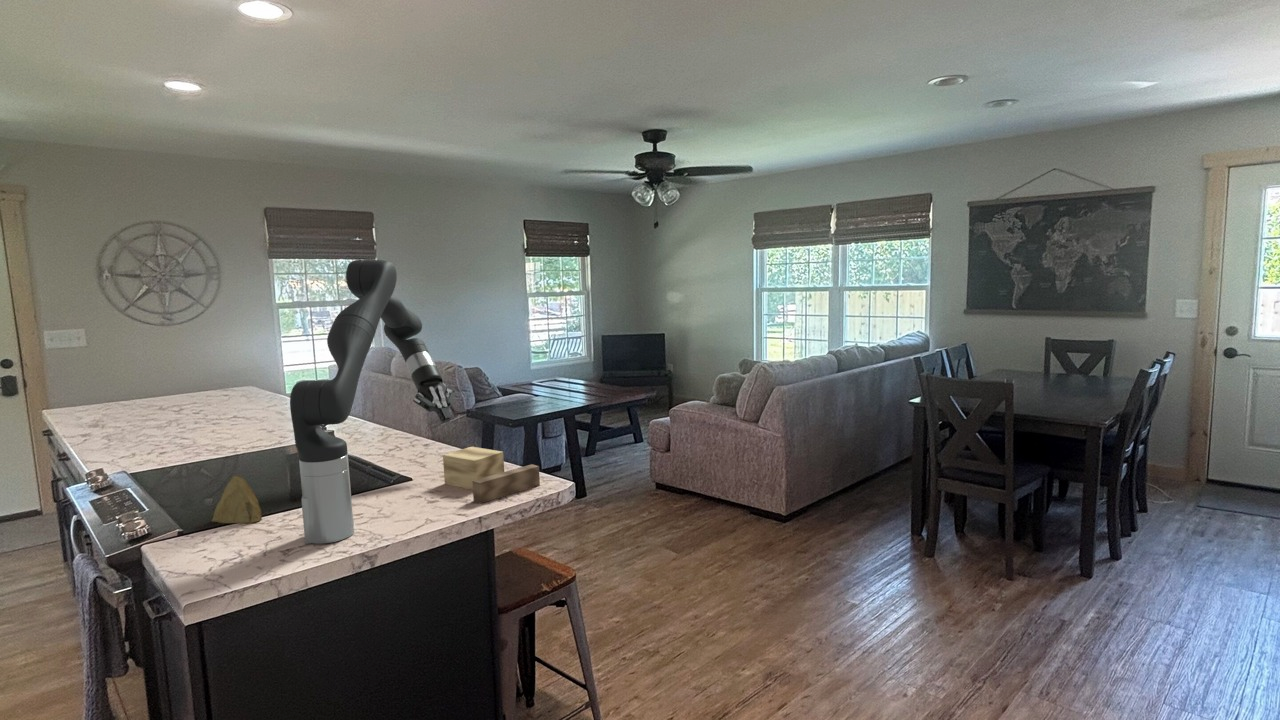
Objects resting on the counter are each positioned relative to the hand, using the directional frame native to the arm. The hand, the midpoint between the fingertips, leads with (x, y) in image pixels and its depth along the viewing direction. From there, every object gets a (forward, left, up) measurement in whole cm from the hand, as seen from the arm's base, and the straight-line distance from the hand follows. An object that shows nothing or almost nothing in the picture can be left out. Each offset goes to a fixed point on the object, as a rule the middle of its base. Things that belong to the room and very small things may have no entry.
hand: (447, 421), depth 186 cm
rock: (-49, -17, -15) cm, 54 cm away
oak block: (+5, -12, -15) cm, 20 cm away
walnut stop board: (+11, -25, -15) cm, 31 cm away
